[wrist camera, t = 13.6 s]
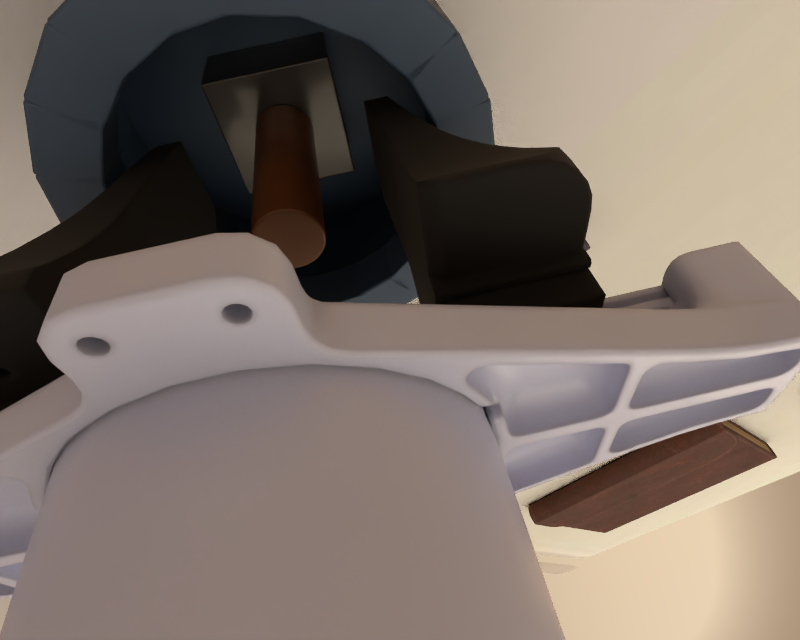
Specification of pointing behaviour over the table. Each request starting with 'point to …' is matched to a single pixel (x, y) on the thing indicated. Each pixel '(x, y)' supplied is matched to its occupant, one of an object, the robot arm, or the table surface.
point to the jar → (199, 131)
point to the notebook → (653, 478)
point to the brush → (282, 135)
